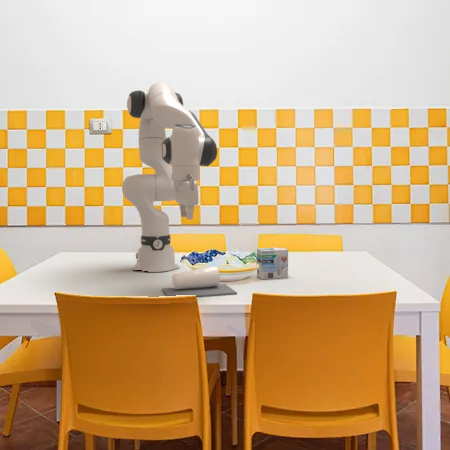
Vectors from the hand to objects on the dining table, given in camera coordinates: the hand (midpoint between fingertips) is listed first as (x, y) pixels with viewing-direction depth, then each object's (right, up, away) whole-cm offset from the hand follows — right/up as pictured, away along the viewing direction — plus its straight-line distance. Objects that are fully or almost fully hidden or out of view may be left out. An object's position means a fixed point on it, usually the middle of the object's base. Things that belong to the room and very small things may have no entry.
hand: (186, 218), depth 168 cm
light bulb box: (+30, -22, +27) cm, 46 cm away
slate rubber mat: (+4, -24, +3) cm, 25 cm away
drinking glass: (-5, -21, +4) cm, 22 cm away
